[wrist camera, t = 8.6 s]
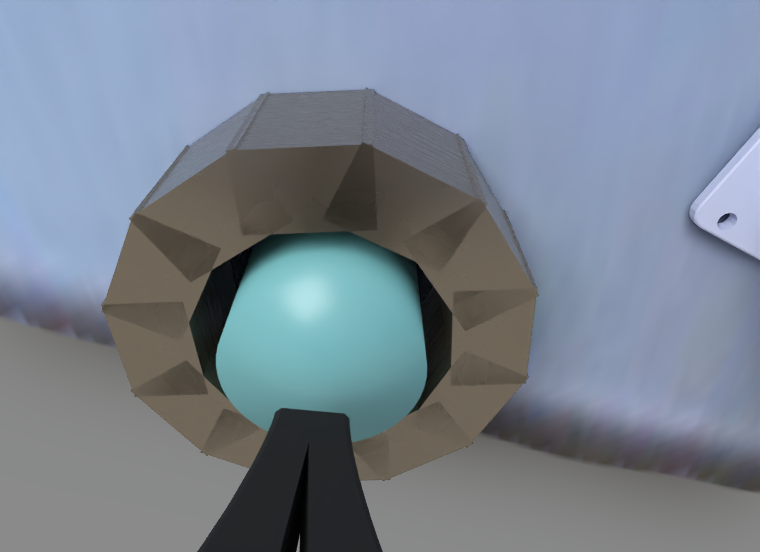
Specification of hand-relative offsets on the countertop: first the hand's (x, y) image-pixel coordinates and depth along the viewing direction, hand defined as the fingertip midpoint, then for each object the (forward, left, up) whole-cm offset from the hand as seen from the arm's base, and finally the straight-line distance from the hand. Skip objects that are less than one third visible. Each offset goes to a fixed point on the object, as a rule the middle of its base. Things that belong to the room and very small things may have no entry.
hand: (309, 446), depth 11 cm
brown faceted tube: (0, 0, -7) cm, 7 cm away
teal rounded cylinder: (0, 0, -7) cm, 7 cm away
